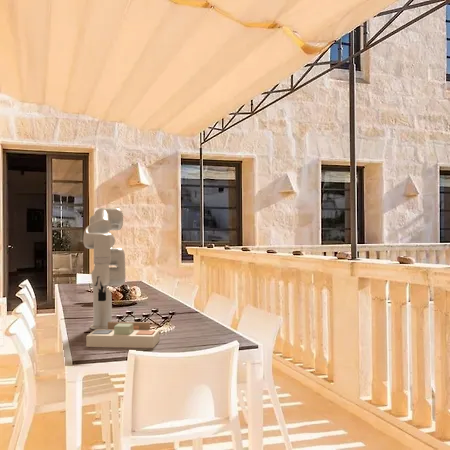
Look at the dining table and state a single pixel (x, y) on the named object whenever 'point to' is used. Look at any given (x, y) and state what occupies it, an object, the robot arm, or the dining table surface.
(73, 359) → the dining table surface
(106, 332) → the key slate
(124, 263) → the robot arm
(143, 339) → the keypad
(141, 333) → the key terracotta
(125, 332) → the key sage
